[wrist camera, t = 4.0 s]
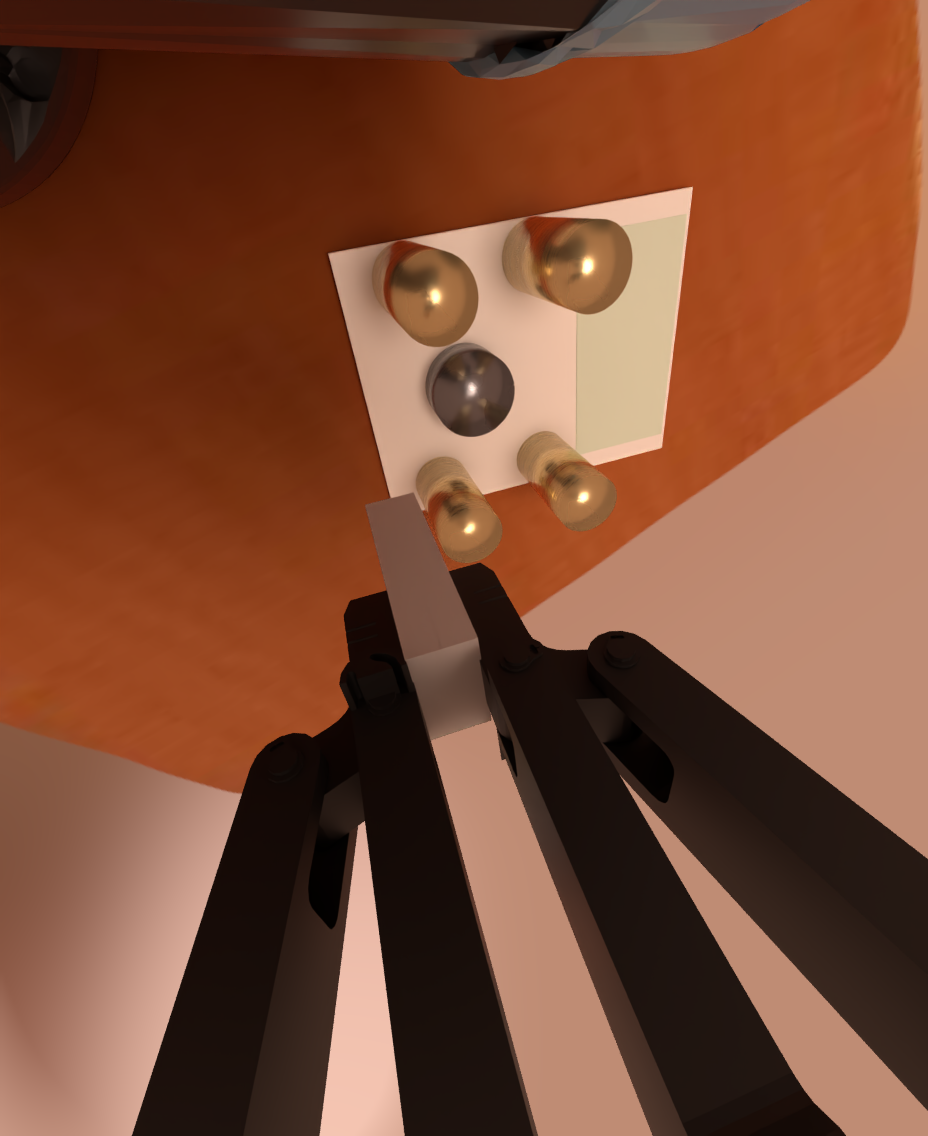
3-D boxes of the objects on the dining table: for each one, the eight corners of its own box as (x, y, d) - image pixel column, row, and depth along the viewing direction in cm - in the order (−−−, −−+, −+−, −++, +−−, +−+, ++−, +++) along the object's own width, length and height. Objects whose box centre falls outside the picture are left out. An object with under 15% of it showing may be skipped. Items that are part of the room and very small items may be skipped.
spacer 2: (410, 463, 27) (436, 517, 22) (463, 450, 27) (499, 500, 23) (421, 510, 29) (446, 569, 24) (470, 498, 29) (504, 553, 25)
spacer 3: (499, 222, 22) (556, 227, 17) (562, 210, 22) (635, 212, 18) (504, 298, 24) (557, 321, 19) (563, 286, 24) (629, 306, 19)
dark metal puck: (418, 351, 24) (427, 361, 22) (497, 334, 24) (511, 343, 23) (432, 431, 26) (441, 445, 25) (504, 413, 27) (517, 426, 25)
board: (327, 252, 21) (328, 253, 21) (685, 187, 23) (693, 186, 23) (394, 513, 29) (395, 518, 29) (657, 444, 31) (662, 448, 31)
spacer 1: (364, 247, 21) (385, 259, 16) (432, 234, 21) (473, 242, 17) (380, 324, 23) (404, 354, 18) (443, 311, 23) (482, 337, 19)
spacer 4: (515, 437, 28) (559, 484, 23) (564, 426, 28) (618, 469, 24) (518, 485, 30) (560, 537, 25) (564, 473, 30) (614, 522, 25)
